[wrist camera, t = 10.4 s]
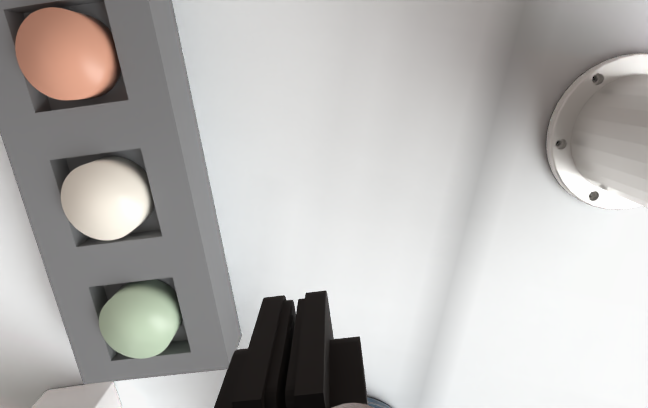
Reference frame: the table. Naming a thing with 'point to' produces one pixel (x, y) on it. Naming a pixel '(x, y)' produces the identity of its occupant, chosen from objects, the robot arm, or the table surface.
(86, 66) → the button terracotta
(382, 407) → the canister
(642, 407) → the table surface
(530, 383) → the table surface
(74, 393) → the milk carton
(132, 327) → the button sage
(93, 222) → the button cream
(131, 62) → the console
